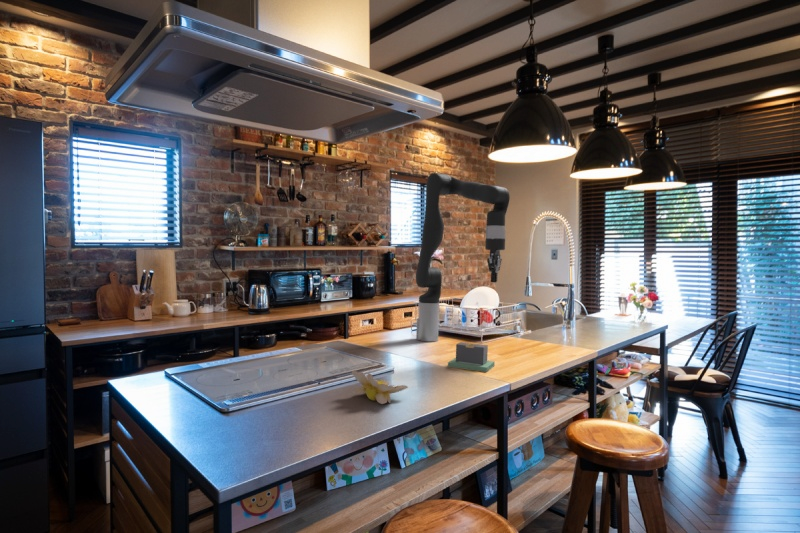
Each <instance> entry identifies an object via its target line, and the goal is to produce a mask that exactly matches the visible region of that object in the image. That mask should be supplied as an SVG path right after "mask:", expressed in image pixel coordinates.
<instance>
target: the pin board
mask: <svg viewBox="0 0 800 533" xmlns="http://www.w3.org/2000/svg"><path fill="white" fill-rule="evenodd" d="M447 367H449V368H456V369H463V370H470V371H475V372H476V371H477V372H485V373H488V372H489V371H490V370H491V369H492V368H493V367H495V361H493V360H487V363H485V364H484V365H480V364H473V363H465V362H458V361H456V357H455V358H453V359H451V360H449V361H447Z"/></svg>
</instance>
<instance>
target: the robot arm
mask: <svg viewBox="0 0 800 533" xmlns="http://www.w3.org/2000/svg"><path fill="white" fill-rule="evenodd" d="M445 195H446V196H447V195H452V196H453V195H454V196H455V195H456V196H457V195H458V196H461V197H463V198H465V199H468V200H474V201H478V202H482V203H486V204H490V205H493V208H492V210H490V211H488V212H487V214H486V228H485V239H484V240H485V243H484V247H485V248H484V249H485V251H489V254H488V258H487V260H486V261H487V266H488V270H489V272H490V282H491V283H497V282H498V273H499V272H500V269H501V266H502V265H501V264H502V261H503V259H502V255H501V251H504V250H506V214H507V211H508V207H509V203H510V199H511V198H510V197H511V196H510V192H509V189H507V188H506V187H504V186H498V185H494V184H493V185H491V184H484V183H481V182H476V181H469V180H468V181H467V180H465V181H464V180H461V179H458V178H456V177H453V176H451V175H449V174H447V173H439V172H432V173H431V174H429V175H428V177H427V180H426V186H425V209H424V211H425V212H424V220H423V226H422V235H421V246H420V252H419V258H418V262H417V267H416V273H415V283H416V285H417V286H418V287H419V288H428V289H427V291H426V292H424V293H423V294H421V295H420V296H419V298H418V318H416V337H415V339H416V341H417V340H418V341H422V342H436V341H437V342H438V341H439V324H440V322H439V320H440V319H439V318H440V317H439V316H440V299H441V294H442V284H443V283H442V281H443V276H442V271H441V269H440V268H438V267H435V266H434V267H432V266H431V267H430V264H431V260H432V257H433V256H434V254H435V253H436V251H437V250H438V248H439V246H440V245H441V243H442V242H443V239H444V238H443V237H444V229H445V223H444V219H443V216H442V213H441V210H440V206H439V205H440V196H445Z"/></svg>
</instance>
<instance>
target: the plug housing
mask: <svg viewBox="0 0 800 533" xmlns="http://www.w3.org/2000/svg"><path fill="white" fill-rule="evenodd" d="M488 348H489V346H488V345H486V344H479V343H469V342H463V341H460V342H459V343H457V344H455V358H456V361H458V362H465V363H473V364H480V365H484V364H485V363H487V361H488V350H489V349H488Z"/></svg>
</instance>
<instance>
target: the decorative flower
mask: <svg viewBox="0 0 800 533" xmlns="http://www.w3.org/2000/svg"><path fill="white" fill-rule="evenodd" d="M351 374H352V375H353V376H354V378H355V380H356V381H357V382H358V383H359V384H360V385H361V386H362V387H361V388H358V389H357V390H355V391H354V392H355V393H359V394H364V393H366V396H367V398H368V399H369V400H371V401H373V402H375V401H377V403H379V404H381V405H383V404H386V403H389V404H391V396H390V394H396V393H399V392H402V391H404V390H406V389H408V388H409V386H407V385H405V384H402V385H390V381H389V380H384V379H382V380H377V379H375V378H374V376H373V375H372V374H371V373H367V375H365V374H364V372H363V371H356V370H353V371H351Z"/></svg>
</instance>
